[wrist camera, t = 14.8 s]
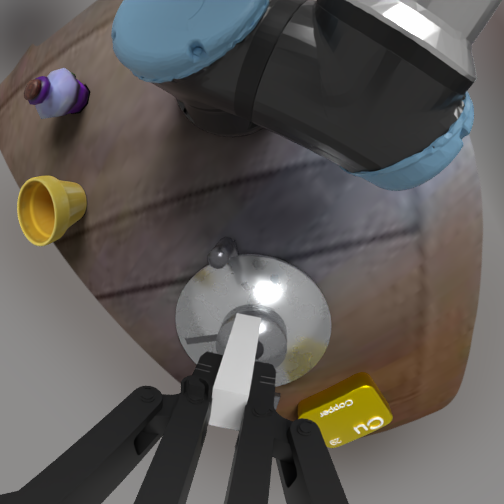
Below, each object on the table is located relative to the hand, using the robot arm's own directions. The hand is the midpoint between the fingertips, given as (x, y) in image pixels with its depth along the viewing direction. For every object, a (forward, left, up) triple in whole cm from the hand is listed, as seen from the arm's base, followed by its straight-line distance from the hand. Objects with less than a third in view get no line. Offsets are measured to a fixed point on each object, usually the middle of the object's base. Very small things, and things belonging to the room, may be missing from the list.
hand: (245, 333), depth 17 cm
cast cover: (+14, +1, -21) cm, 25 cm away
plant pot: (-1, -33, -23) cm, 40 cm away
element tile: (+30, +22, -24) cm, 44 cm away
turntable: (+13, 0, -23) cm, 26 cm away
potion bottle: (-19, -35, -23) cm, 46 cm away
